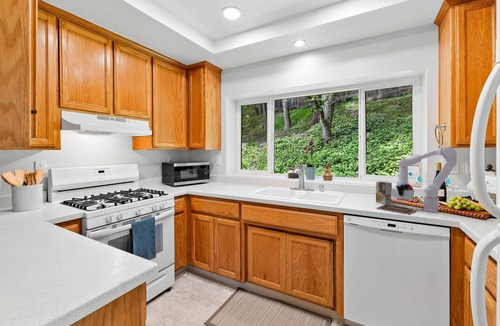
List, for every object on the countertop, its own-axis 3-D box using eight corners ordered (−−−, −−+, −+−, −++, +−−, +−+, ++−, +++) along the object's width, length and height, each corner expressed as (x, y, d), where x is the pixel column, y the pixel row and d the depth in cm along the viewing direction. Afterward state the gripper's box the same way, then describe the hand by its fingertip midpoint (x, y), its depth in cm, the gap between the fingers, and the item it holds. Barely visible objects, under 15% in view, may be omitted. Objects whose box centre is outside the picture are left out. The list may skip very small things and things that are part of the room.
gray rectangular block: (394, 196, 176) (395, 187, 176) (413, 198, 167) (413, 189, 166) (391, 197, 173) (392, 188, 173) (410, 199, 164) (411, 190, 163)
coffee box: (391, 204, 182) (392, 182, 181) (385, 204, 180) (385, 183, 179) (381, 201, 191) (382, 181, 190) (375, 202, 189) (375, 181, 188)
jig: (385, 205, 176) (385, 203, 176) (416, 211, 160) (416, 208, 160) (376, 208, 168) (376, 206, 168) (408, 214, 152) (408, 211, 152)
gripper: (401, 175, 177) (400, 193, 177) (392, 176, 168) (391, 195, 169) (412, 175, 171) (411, 194, 172) (403, 177, 162) (403, 197, 163)
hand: (402, 195), depth 170 cm, fingers closed on gray rectangular block, 5 cm apart
